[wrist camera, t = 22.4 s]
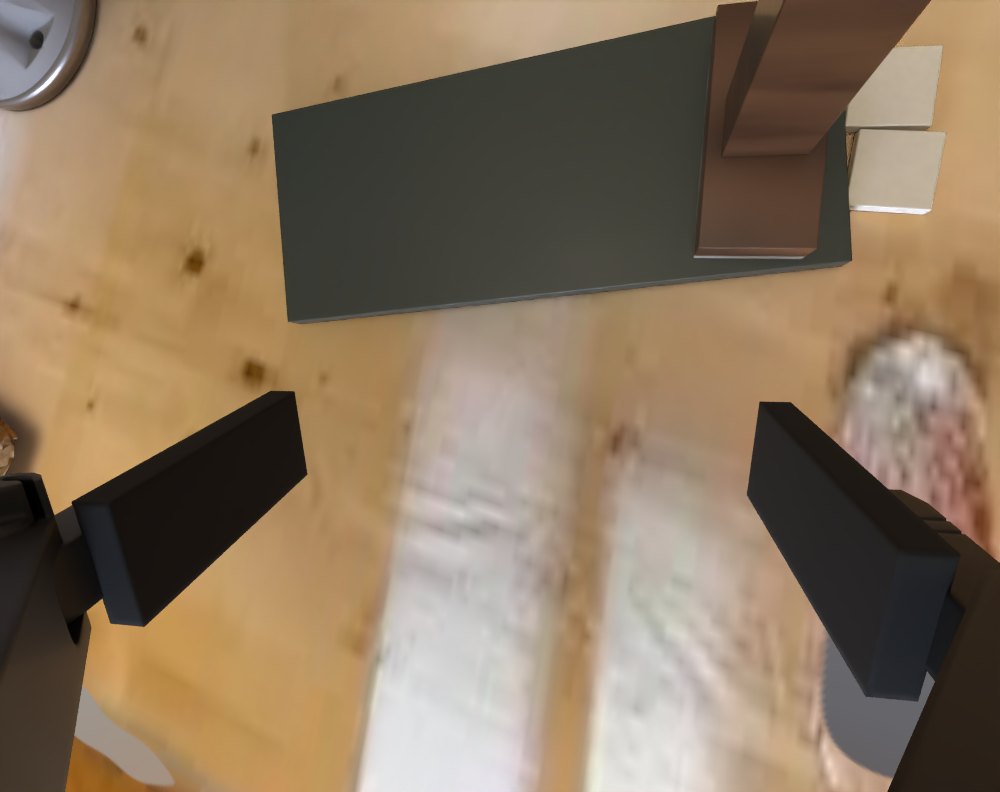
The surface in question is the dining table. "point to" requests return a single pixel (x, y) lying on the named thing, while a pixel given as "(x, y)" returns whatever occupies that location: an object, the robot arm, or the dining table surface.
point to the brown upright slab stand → (781, 115)
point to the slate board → (515, 184)
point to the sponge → (6, 447)
